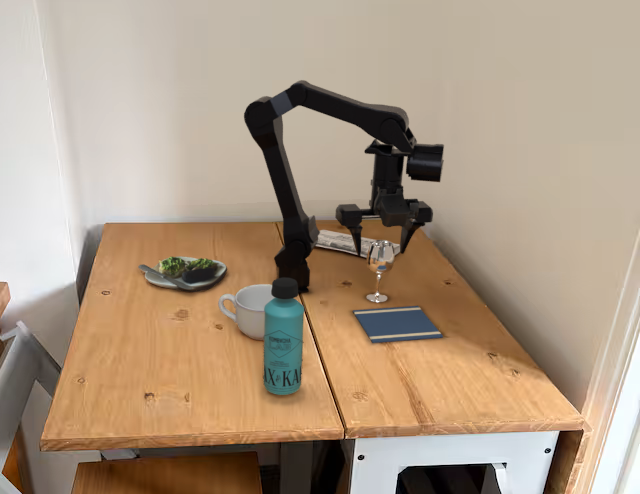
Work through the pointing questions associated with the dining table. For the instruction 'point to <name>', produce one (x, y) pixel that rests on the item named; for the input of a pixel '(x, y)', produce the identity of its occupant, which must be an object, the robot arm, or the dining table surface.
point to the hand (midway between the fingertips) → (380, 254)
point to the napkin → (396, 324)
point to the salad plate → (185, 273)
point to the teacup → (249, 308)
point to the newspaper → (346, 242)
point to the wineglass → (380, 264)
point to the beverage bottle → (283, 338)
